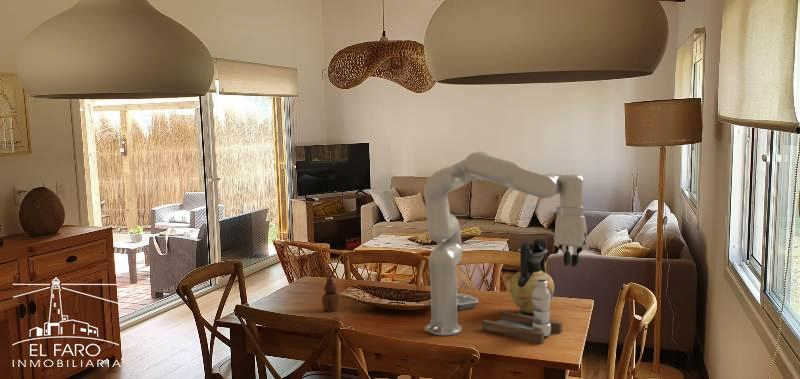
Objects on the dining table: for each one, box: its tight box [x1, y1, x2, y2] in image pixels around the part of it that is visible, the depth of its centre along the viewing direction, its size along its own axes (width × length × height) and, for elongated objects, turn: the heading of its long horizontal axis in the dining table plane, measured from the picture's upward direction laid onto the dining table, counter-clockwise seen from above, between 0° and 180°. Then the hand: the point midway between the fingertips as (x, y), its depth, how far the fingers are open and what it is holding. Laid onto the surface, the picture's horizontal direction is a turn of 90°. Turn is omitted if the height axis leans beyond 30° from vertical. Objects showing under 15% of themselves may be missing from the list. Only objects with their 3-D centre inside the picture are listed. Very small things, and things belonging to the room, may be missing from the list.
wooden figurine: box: [321, 275, 340, 313], centre depth 264 cm, size 7×6×15 cm
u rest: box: [481, 310, 563, 345], centre depth 234 cm, size 16×24×4 cm, turn 49°
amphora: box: [509, 237, 555, 317], centre depth 253 cm, size 18×17×30 cm
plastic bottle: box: [532, 279, 552, 338], centre depth 228 cm, size 6×7×20 cm
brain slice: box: [457, 293, 480, 311], centre depth 269 cm, size 20×17×3 cm
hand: (570, 264), depth 219 cm, fingers closed
